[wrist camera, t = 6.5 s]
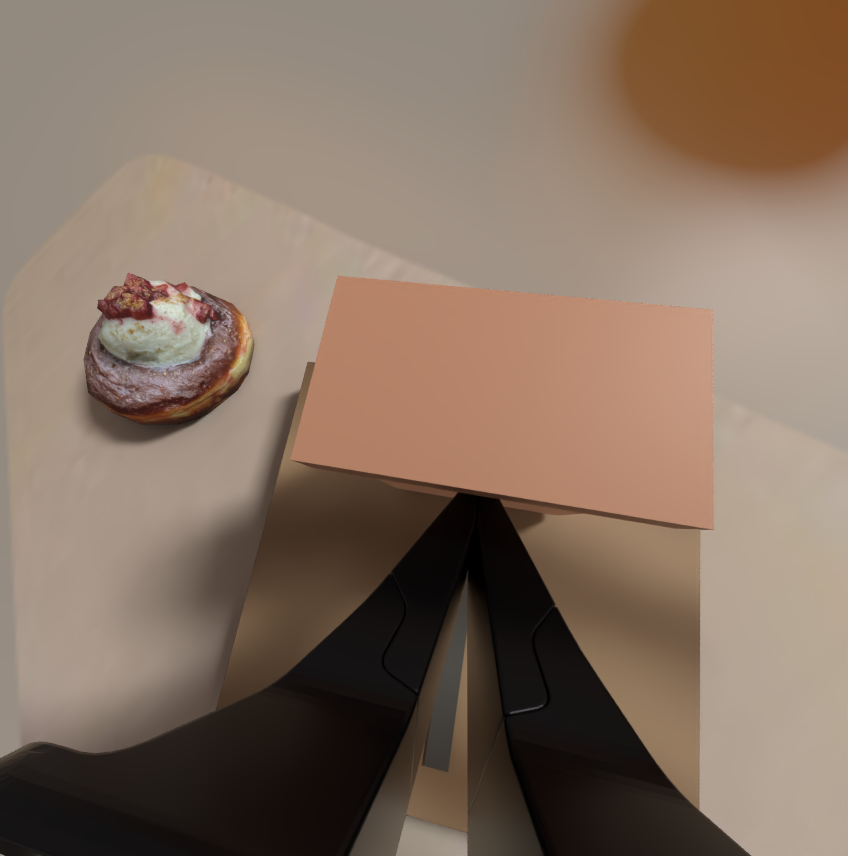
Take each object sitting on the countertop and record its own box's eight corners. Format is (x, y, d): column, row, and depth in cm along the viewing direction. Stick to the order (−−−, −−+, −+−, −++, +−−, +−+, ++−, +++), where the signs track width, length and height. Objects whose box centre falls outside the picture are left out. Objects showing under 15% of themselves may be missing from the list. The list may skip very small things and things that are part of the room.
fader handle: (564, 525, 13) (713, 529, 5) (386, 494, 14) (290, 459, 6) (572, 429, 14) (712, 310, 6) (403, 405, 15) (337, 275, 7)
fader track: (663, 843, 13) (701, 904, 11) (237, 725, 15) (202, 757, 13) (672, 424, 16) (702, 410, 14) (324, 378, 18) (306, 360, 16)
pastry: (275, 309, 20) (215, 241, 15) (229, 444, 18) (145, 417, 13) (147, 290, 21) (53, 221, 16) (93, 415, 19) (-30, 380, 15)
